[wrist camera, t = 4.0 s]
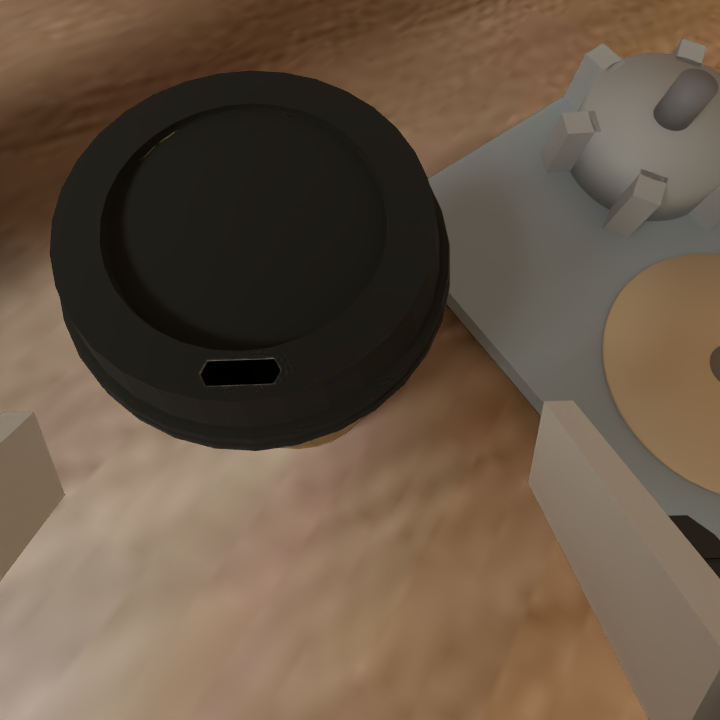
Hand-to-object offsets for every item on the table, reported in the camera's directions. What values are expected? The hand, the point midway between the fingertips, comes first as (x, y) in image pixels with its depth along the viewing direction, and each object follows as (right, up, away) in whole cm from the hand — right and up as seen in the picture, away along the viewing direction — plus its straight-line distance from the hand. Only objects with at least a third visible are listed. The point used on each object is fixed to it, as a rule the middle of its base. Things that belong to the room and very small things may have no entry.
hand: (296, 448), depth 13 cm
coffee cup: (-1, +1, +12) cm, 12 cm away
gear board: (+20, +4, +14) cm, 24 cm away
